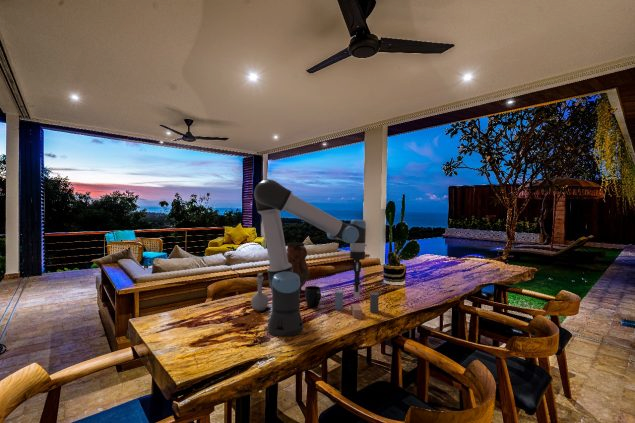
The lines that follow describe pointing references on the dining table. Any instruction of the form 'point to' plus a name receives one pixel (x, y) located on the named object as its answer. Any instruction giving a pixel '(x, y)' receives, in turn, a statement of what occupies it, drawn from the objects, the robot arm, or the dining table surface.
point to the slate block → (338, 300)
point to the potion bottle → (259, 296)
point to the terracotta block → (356, 310)
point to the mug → (312, 295)
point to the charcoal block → (374, 302)
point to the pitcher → (298, 261)
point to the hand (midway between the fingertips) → (356, 297)
